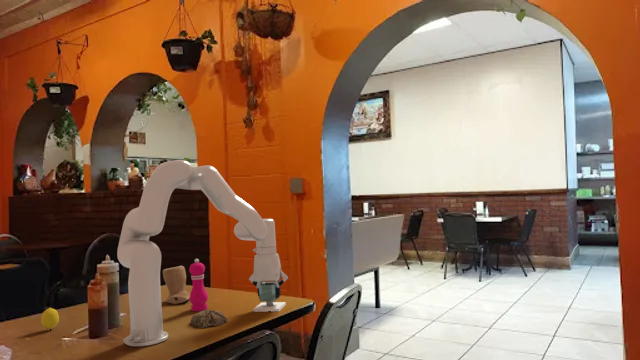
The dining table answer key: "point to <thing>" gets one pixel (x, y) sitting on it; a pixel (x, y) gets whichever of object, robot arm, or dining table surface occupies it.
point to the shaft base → (269, 306)
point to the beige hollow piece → (176, 284)
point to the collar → (267, 291)
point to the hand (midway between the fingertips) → (269, 297)
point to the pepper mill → (198, 287)
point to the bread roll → (208, 319)
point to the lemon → (50, 318)
